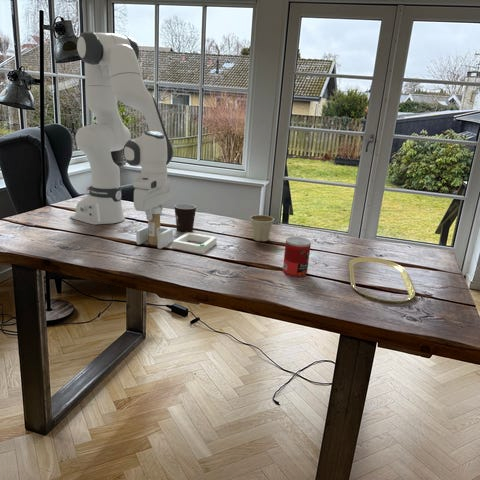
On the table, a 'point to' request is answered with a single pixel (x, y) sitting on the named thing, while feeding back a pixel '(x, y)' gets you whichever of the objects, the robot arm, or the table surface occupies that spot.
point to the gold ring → (392, 264)
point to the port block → (184, 245)
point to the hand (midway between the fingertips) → (154, 217)
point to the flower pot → (261, 227)
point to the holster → (163, 237)
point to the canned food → (296, 256)
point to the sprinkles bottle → (154, 226)
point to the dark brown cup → (185, 217)
